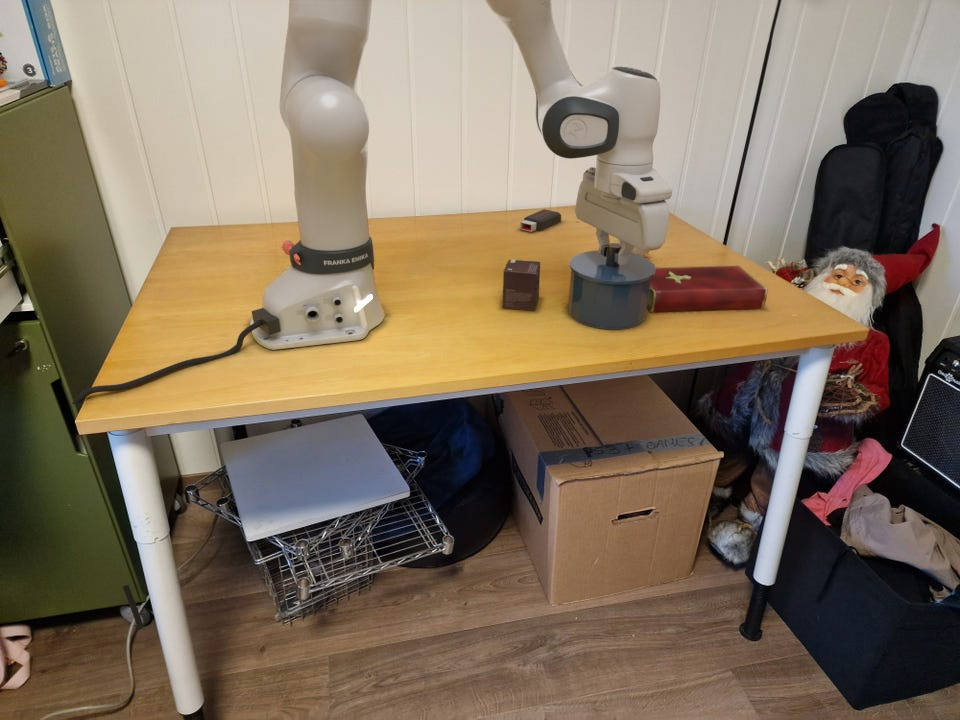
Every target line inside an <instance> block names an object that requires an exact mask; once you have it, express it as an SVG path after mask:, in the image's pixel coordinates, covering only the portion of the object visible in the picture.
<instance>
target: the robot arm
mask: <svg viewBox="0 0 960 720" xmlns="http://www.w3.org/2000/svg"><path fill="white" fill-rule="evenodd" d="M484 1H485V2H486V4H487V6H488V8H489V9H490V10H491V12H492V13H493V14H494V15H495V16H496V18H498V20H500V22H501V23H502V24H503V25H504V26H505V28H506V29H507V30H508V31H509V33H510V34H511V36H512V37H513V39H514V41H515V42H516V44H517V47H518V49H519V51H520V54H521V57H522V59H523V62H524V65H525V66H526V69H527V72H528V74H529V77H530V79H531V82H532V85H533V89H534V91H535V98H536V99H535V103H536V104H535V121H536V125H537V128H538V130H539V132H540V135H541V136H542V139H543V141H544V143H545V145H546V146H547V148H548V149H549V151H551V152H552V153H553V154H554V155H556V156H558V157H560V158H562V159H563V158H564V159H571V160H572V159H581V158H588V157H593V156H596V161H595V167H594V166H589V167H588V168H587V169H586V170H585V171H584V172H583V174H582V180H581V182H580V183H579V186H578V190H577V196H576V201H575V209H574V212H575V216H576V219H577V220H578V221H581V222H583V223H585V224H587V225H589V226H592V227H593V228H595V229H596V230H595V231H596V232H595V234H596V238H597V239H596V240H597V242H598V245H599V246H598V250H599V254H600V255H602V256H604V257H606V253H607V245H608V244H610V243H611V241H610V236H611V237H614V238H616V239H617V240H618V239H620V246H622V248H621V250H620V251H619V252H618V253H615V259H614V262H615V263H617V264H619V265H625V264H627V263H628V257H629V254H630V253H631V251H632V250H633V248H634V247H636V248H638V249H640V250H642V251H649V252H652V251H657V250H659V249H661V248H662V247H663V246H664V244H665V243H666V240H667V233H668V228H669V227H668V226H669V220H670V219H669V218H670V207H669V204H668V202H667V201H668V200H670V199H671V198H672V195H673V187H672V185H671V184H670V183H669V182H668V181H667V180H666V179H664V177H663V176H661V175H660V174H659V173H658V171H657V170H656V168H654V167H653V166H654V165H653V164H654V153H653V152H654V151H653V148H654V147H653V145H654V142H655V139H656V136H657V134H658V129H659V122H660V121H659V120H660V113H661V112H660V110H661V86H660V82H659V81H658V79H657V78H656V77H655V75H652V74H651V73H649V72H646V71H643V70H641V69H637V68H633V67H628V66H614V67H611V68H610V69H609V70H608V71H607V72H606V73H604V74H603V75H601V76H600V77H598V78H596V79H594V80H592V81H590V82H588V83H586V84H582V83H580V81H578V80H577V79H576V77H575V75H574V74H573V72H572V70H571V69H570V65H569V63H568V59H567V57H566V54H565V52H564V49H563V45H562V43H561V40H560V38H559V34H558V32H557V29H556V25H555V21H554V15H553V0H484ZM372 3H373V0H289V3H288V20H287V30H286V37H285V46H284V54H283V61H282V72H281V82H280V83H281V84H280V92H279V114H280V117H281V120H282V122H283V124H284V127H286V129H287V131H288V133H289V138H290V144H291V155H292V156H291V157H292V169H293V184H294V185H293V186H294V188H293V189H294V191H293V192H294V193H293V194H294V195H293V196H294V202H295V209H296V216H297V224H298V232H299V240H298V241H297V242H296V243H295V244H294V242H292V241H291V240H289V239H288V240H284V241H282V244H281V249H282V251H283V252H284V254H285V255H287V256H289V261H290V265H289V266H288V267H287V268H286V269H285V270H284V271H282V273H280V274H279V275H278V276H277V277H276V278H274V279H273V280H272V281H271V282H270V283H269V284H268V285H267V286H266V287H265V289H264V290H263V293H262V299H261V300H262V301H261V307H260V308H258V309H255V310H252V311H251V318H250V323H249V324H250V325H248V326H247V327H246V328H244V329H243V330H242V331H241V332H240V333H239V335H238V337H237V340H236V343H235V345H234V346H233V347H231V348H229V349H228V350H226V351H223V352H221V353H218V354H214V355H207V356H201V357H194V358H189V359H185V360H183V361H180V362H177V363H174V364H172V365H168V366H166V367H164V368H161V369H158V370H157V371H153V372H151V373H149V374H146V375H144V376H141V377H139V378H135V379H132V380H130V381H126V382H123V383H117V384H106V385H104V384H103V385H96V386H91V387H88V388H86V389H84V390H82V391H81V392H80V393H78V395H77V396H75V398H74V399H73V400H72V405H78V404H81V403H82V402H83V401H84V400H85V399H86V398H87V397H89V396H90V395H93V394H96V393H105V392H106V393H107V392H117V391H124V390H127V389H128V390H129V389H131V388H134V387H137V386H139V385H142V384H145V383H147V382H150V381H152V380H155V379H158V378H160V377H162V376H165V375H167V374H169V373H173V372H175V371H177V370H180V369H183V368H186V367H189V366H194V365H198V364H203V363H204V364H205V363H209V362H213V361H216V360H219V359H223V358H226V357H230V356H232V355H234V354H236V353H237V352H238V351H240V350H241V349H242V347H243V344H244V341H245V338H246V337H247V336H248V335H249V334H250V333H251V336H252V337H253V339H254V340H255V341H256V342H257V344H259V345H260V346H261V347H263V348H266V349H268V350H271V351H272V350H284V349H294V348H302V347H311V346H319V345H320V346H321V345H329V344H335V343H336V344H337V343H345V342H355V341H360V340H361V341H362V340H363V339H365V338H366V337H367V336H368V334H369V333H370V331H371V330H372V329H374V328H376V327H377V326H378V325H380V324H382V323H383V320H385V316H386V315H385V310H384V308H383V305H382V302H381V300H380V296H379V293H378V289H377V288H378V287H377V284H376V279H375V275H374V274H375V273H374V269H375V248H374V243H373V239H372V237H371V236H370V229H369V228H370V227H369V215H368V204H367V203H368V202H367V177H368V176H367V175H368V161H369V160H368V159H369V135H370V122H369V120H370V119H369V116H368V111H367V109H366V105H365V104H364V101H363V100H362V99H361V97H360V95H359V94H358V93H357V92H356V88H357V87H356V86H357V82H358V76H359V71H360V68H361V62H362V58H363V54H364V51H365V47H366V44H367V42H368V39H369V32H370V26H371V25H370V24H371V15H372V6H373V5H372ZM121 587H122V590H123V593H124V596H125V598H126V600H127V602H128V604H129V608H130V611H131V613H132V616H133V619H134V622H135V625H136V627H137V630H142V629H144V628H145V627H144V624H143V620H142V617H141V614H140V611H139V608H138V606H137V603H136V600H135V598H134V595H133V593H132V590H131V588H130V585H129V584H126V585H123V586H121Z"/></svg>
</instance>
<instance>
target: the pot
mask: <svg viewBox="0 0 960 720" xmlns="http://www.w3.org/2000/svg"><path fill="white" fill-rule="evenodd" d="M651 279H652V278H651ZM651 279H649V280H647V281H644V282H640V283H635V284H605V283H599V282H595V281H591V280H588V279H585V278H582V277H580V276H578V275H576V274H575V273H574V272H573V271H572V270H571V269H570V279H569V291H568V301H567V302H568V304H567V309H568V314H569V316H570V317H571V318H572V319H574V320H575V321H576V322H578V323H579V324H582V325H585V326H587V327H591V328H595V329H600V330H608V331H614V330H615V331H620V330H627V329H632V328H636V327H638V326H640V325H642V323H644V321H645V320H646V316H647V312H648V308H647V306H648V299H649V292H650V286H651Z"/></svg>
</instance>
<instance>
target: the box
mask: <svg viewBox="0 0 960 720" xmlns="http://www.w3.org/2000/svg"><path fill="white" fill-rule="evenodd" d="M502 275H503V277H502V279H503V280H502V309H509V310H510V309H511V310H519V311H520V310H521V311H532V312H533V311H536V308H537V306H538V303H539V298H540V282H541V281H540V278H541V261H535V260H522V259H521V260H520V259H508V260H507V261H506V264H505V267H504V269H503V274H502Z"/></svg>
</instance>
